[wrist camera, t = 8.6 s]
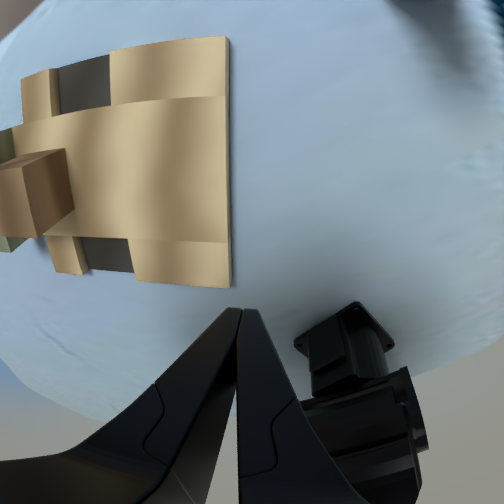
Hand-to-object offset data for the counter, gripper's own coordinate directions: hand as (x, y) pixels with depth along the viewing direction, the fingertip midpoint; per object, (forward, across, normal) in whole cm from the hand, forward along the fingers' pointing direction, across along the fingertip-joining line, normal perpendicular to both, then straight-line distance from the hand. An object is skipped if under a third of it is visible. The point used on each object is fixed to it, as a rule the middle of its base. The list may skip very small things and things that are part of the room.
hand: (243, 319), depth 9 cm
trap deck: (+12, +10, -1) cm, 16 cm away
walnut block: (+11, +16, -1) cm, 19 cm away
